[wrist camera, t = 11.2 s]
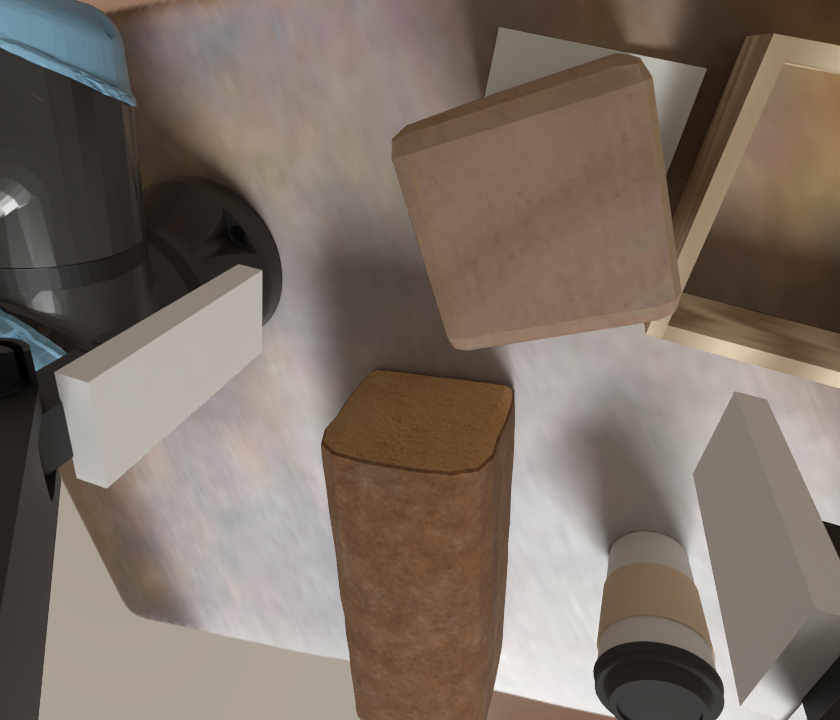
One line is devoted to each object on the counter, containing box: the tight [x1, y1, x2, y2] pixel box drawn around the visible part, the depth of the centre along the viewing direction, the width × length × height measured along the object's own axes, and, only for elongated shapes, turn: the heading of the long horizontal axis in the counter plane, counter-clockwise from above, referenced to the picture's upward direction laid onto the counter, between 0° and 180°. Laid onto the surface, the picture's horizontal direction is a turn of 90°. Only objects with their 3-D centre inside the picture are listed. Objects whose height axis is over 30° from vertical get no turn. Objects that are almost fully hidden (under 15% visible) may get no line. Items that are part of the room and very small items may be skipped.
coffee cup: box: [594, 531, 724, 720], centre depth 47 cm, size 9×9×15 cm
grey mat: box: [485, 27, 707, 174], centre depth 39 cm, size 13×13×1 cm
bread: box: [321, 370, 515, 720], centre depth 53 cm, size 14×34×14 cm, turn 2°
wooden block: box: [392, 53, 682, 351], centre depth 31 cm, size 10×10×20 cm
